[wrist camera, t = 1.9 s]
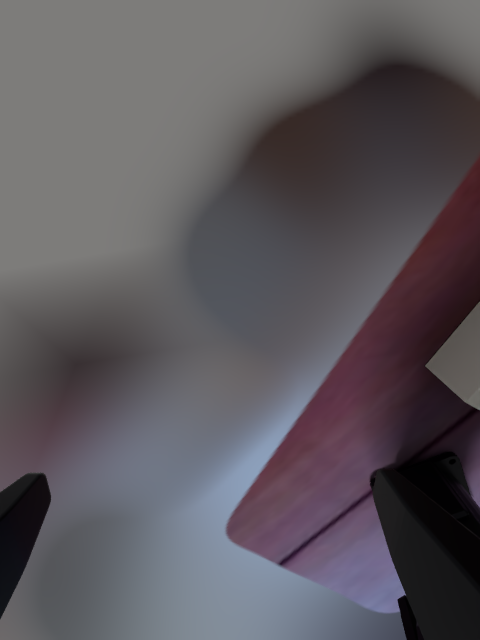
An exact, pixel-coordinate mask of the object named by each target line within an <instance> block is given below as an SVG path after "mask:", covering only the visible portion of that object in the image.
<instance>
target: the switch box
mask: <svg viewBox="0 0 480 640" xmlns="http://www.w3.org/2000/svg"><path fill="white" fill-rule="evenodd" d="M425 367H427V368H428V369H429V370H430V371H431V372H432V373H433V374H434V375H435V376H436V377H438V378H439V379H440V380H441V381H442V382H443V383H444V384H445V385H446V386H448V387H449V388H450V389H451V390H452V391H453V392H454V393H455V394H456V395H457V396H459V397H460V398H461V399H462V400H463V401H464V402H465V403H467V404H469V405H471V406H473V407H474V408H476V409H478V410H480V302H479V303H478V304H477V305H476V306H475V308H474V309H473V310H472V311H471V312H470V313H469V315H468V316H467V317H466V318H465V319H464V321H463V322H462V323H461V324H460V325H459V326H458V328H457V329H456V330H455V331H454V332H453V334H452V335H451V336H450V337H449V338H448V339H447V341H446V342H445V343H444V344H443V345H442V347H441V348H440V349H439V350H438V351H437V352H436V354H435V355H434V356H433V357H432V358H431V359H430V361H429V362H428V363H427V364H426V365H425Z"/></svg>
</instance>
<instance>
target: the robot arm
mask: <svg viewBox="0 0 480 640" xmlns="http://www.w3.org/2000/svg"><path fill="white" fill-rule="evenodd" d="M370 486H371V489H372V491H373V498H374V502H375V506H376V509H377V512H378V516H379V519H380V522H381V525H382V529H383V532H384V535H385V539H386V542H387V545H388V549H389V552H390V555H391V558H392V561H393V564H394V566H395V569H396V571H397V574H398V576H399V579H400V581H401V584H402V586H403V589H404V591H405V593H406V596H405V595H404V596H402V597H401V598H399V599H398V604H399V608H400V612H401V618H402V622H403V626H404V630H405V634H406V638H407V640H480V507H479V506H478V505H477V504H476V502H475V501H474V500H473V499H472V497H471V496H470V492H469V489H468V486H467V483H466V479H465V476H464V473H463V469H462V466H461V463H460V460H459V458H458V457H457V455H456V454H455V453H453V452H448V453H445V454H442V455H440V456H437V457H434V458H431V459H429V460H426V461H423V462H420V463H418V464H415V465H412V466H409V467H407V468H404V469H401V470H398V471H396V470H394V469H379V470H378V471H377V473H376V478H375V479H374V480H372V481H371V483H370ZM50 502H51V494H50V490H49V486H48V482H47V478H46V476H45V474H44V473H28V474H25V475H24V476H22V477H21V478H20V479H18V480H17V481H15V482H14V483H13V484H11V485H10V486H8V487H7V488H6V489H4V490H3V491H1V492H0V619H1V616H2V615H3V613H4V611H5V608H6V607H7V604H8V602H9V600H10V598H11V596H12V594H13V592H14V590H15V588H16V586H17V584H18V582H19V580H20V578H21V576H22V574H23V571H24V569H25V567H26V565H27V562H28V560H29V557H30V555H31V552H32V550H33V547H34V545H35V542H36V539H37V537H38V534H39V532H40V529H41V526H42V524H43V521H44V518H45V516H46V513H47V511H48V508H49V505H50Z"/></svg>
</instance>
